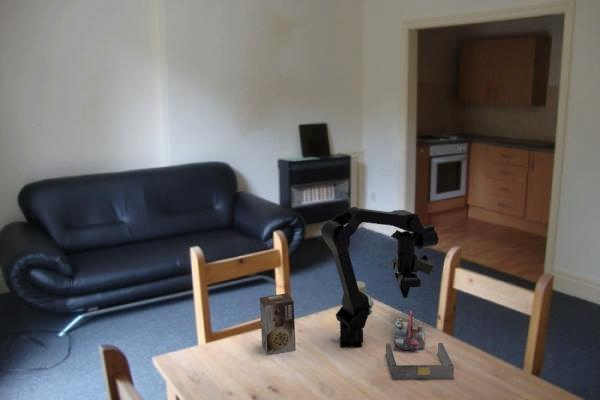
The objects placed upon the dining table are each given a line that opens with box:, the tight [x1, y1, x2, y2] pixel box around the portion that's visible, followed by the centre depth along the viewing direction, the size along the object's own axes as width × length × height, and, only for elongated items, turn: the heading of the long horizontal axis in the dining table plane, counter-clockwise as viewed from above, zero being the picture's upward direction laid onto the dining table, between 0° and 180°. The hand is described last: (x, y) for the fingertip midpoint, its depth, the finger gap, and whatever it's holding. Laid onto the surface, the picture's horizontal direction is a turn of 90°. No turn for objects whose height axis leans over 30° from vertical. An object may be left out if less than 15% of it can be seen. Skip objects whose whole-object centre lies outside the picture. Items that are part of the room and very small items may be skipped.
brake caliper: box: [392, 310, 426, 351], centre depth 170 cm, size 11×11×12 cm
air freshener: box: [340, 280, 374, 311], centre depth 194 cm, size 11×8×10 cm
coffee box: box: [259, 292, 297, 356], centre depth 169 cm, size 9×6×16 cm
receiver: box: [385, 342, 455, 380], centre depth 158 cm, size 16×14×4 cm
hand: (404, 297), depth 179 cm, fingers closed
